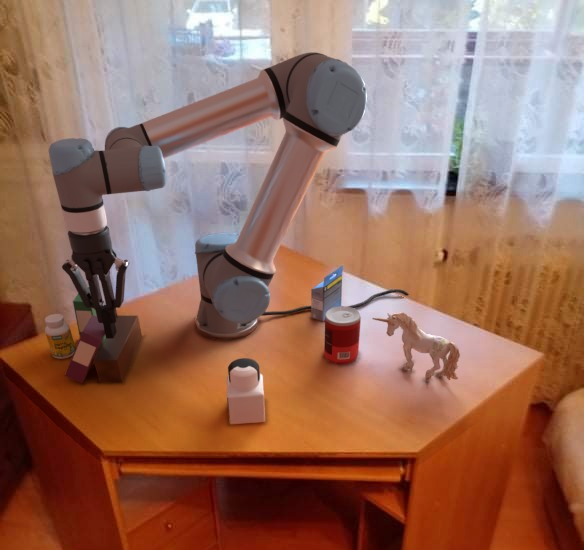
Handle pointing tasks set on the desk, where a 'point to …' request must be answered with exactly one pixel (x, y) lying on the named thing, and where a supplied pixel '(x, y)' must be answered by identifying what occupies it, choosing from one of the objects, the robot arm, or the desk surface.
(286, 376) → the desk surface
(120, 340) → the walnut block
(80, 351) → the plum tea box
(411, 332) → the unicorn figurine
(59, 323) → the supplement bottle
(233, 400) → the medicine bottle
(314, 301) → the tape cartridge
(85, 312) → the green tea box
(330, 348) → the canned food
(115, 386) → the desk surface
